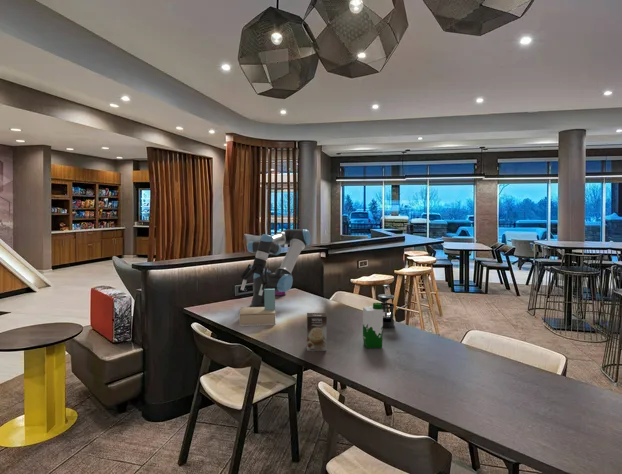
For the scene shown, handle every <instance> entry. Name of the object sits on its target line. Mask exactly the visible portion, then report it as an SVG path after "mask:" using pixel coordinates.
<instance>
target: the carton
mask: <svg viewBox="0 0 622 474" xmlns="http://www.w3.org/2000/svg"><path fill="white" fill-rule="evenodd" d="M238 317H239V318H238V322H239V323H238V324H239V327H250V326H251V327H252V326H275V325H276V313H275V314H254V315H239V314H238Z"/></svg>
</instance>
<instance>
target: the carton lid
mask: <svg viewBox="0 0 622 474" xmlns="http://www.w3.org/2000/svg"><path fill="white" fill-rule="evenodd" d="M264 299H265V307H254V306H251V307H249V306H248V307H240V310H239V313H238V316H239V315H254V314H275V315H276V295H275V289H264Z"/></svg>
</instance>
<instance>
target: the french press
mask: <svg viewBox="0 0 622 474" xmlns="http://www.w3.org/2000/svg"><path fill="white" fill-rule="evenodd" d="M381 286H383V287H384V288H385V293H382V294H381V293H380V294H378V295H377V297H378V300H379V301H381V302H380V303H381V304H382V309H383V310H389V312H387V311H383V329H394V328H395V319H394V316H395V315H394V308H395V304H394V303H392V302H389V300H394V298H395V295H393V294H389V293H388V294H387V289H388V287H391V284H382V285H381ZM384 305H385V306H384Z"/></svg>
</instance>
